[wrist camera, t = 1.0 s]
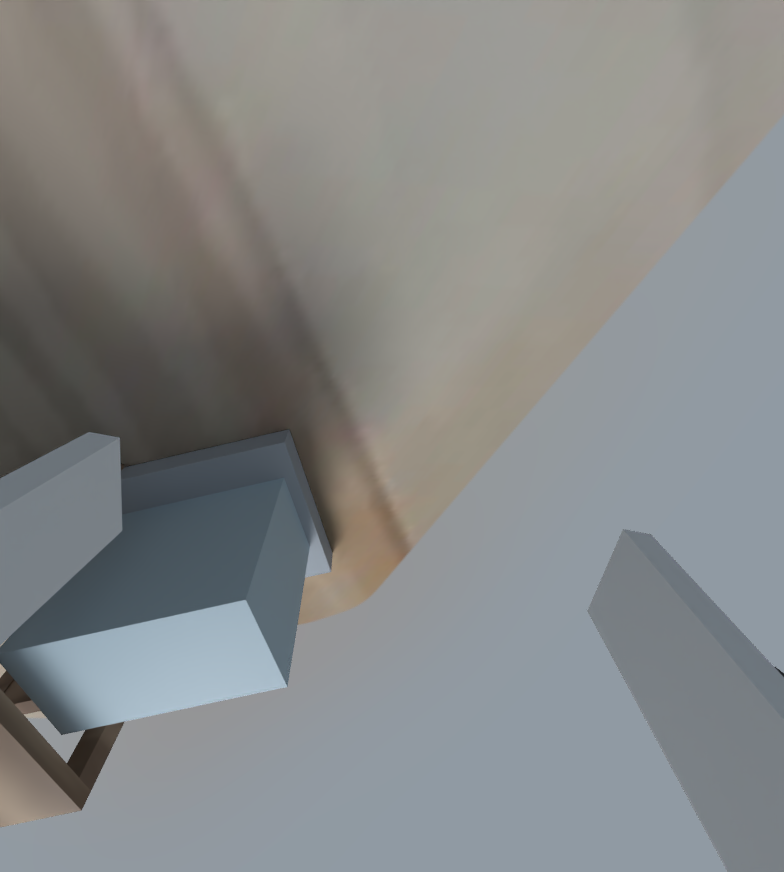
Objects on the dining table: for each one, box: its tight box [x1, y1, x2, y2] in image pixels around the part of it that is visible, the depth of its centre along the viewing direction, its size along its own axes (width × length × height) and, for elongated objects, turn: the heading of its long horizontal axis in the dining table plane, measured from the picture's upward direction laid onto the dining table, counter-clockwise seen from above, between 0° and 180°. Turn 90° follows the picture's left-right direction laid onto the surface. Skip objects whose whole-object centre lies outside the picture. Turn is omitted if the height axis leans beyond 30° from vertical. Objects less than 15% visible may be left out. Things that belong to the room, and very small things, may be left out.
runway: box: [121, 429, 333, 577], centre depth 38 cm, size 26×13×2 cm, turn 103°
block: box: [0, 478, 310, 735], centre depth 31 cm, size 14×7×13 cm, turn 103°
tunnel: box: [0, 464, 125, 827], centre depth 31 cm, size 12×14×18 cm
